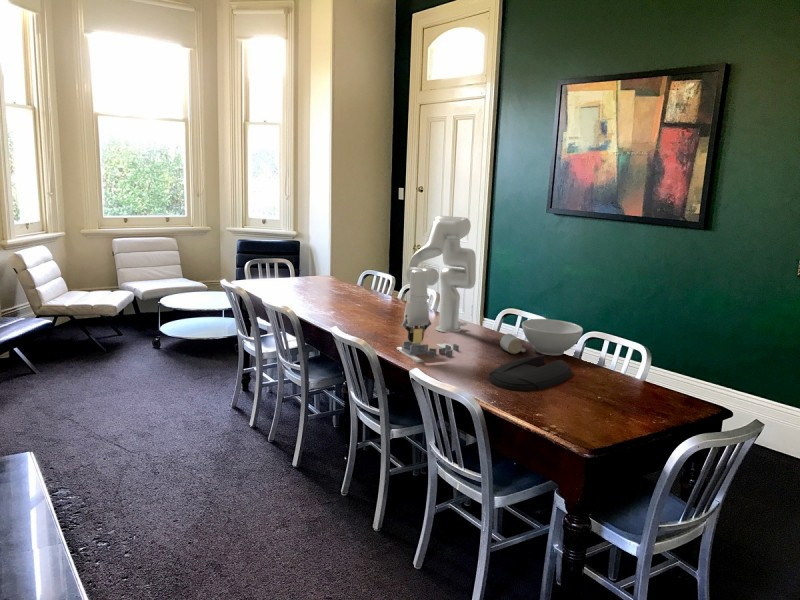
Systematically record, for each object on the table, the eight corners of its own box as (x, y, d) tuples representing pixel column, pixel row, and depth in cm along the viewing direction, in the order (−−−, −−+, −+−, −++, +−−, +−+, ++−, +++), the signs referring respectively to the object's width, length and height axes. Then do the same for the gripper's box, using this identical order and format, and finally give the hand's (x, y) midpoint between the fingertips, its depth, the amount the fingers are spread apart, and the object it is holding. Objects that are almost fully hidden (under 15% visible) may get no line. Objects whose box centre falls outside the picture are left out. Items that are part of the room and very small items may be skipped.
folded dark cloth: (473, 380, 235) (474, 368, 234) (526, 360, 265) (527, 349, 264) (531, 398, 219) (532, 384, 218) (580, 374, 249) (582, 362, 248)
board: (445, 345, 281) (446, 337, 280) (469, 357, 264) (469, 349, 263) (396, 349, 270) (397, 341, 270) (417, 362, 253) (417, 354, 252)
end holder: (419, 348, 269) (419, 339, 269) (427, 353, 262) (428, 344, 262) (401, 350, 266) (402, 341, 265) (409, 355, 259) (410, 346, 258)
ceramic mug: (507, 355, 270) (509, 338, 268) (499, 350, 277) (500, 333, 276) (529, 354, 273) (530, 337, 272) (519, 349, 281) (521, 333, 279)
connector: (417, 340, 266) (418, 322, 264) (421, 342, 262) (422, 324, 261) (409, 341, 264) (410, 322, 262) (413, 343, 260) (414, 325, 259)
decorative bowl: (521, 341, 295) (523, 316, 292) (579, 347, 288) (582, 322, 286) (517, 356, 269) (519, 329, 267) (580, 363, 263) (583, 336, 260)
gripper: (431, 296, 266) (428, 337, 270) (396, 297, 259) (394, 339, 263) (439, 299, 260) (436, 341, 263) (404, 301, 253) (401, 344, 256)
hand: (415, 340), depth 263 cm, fingers closed on connector, 4 cm apart
